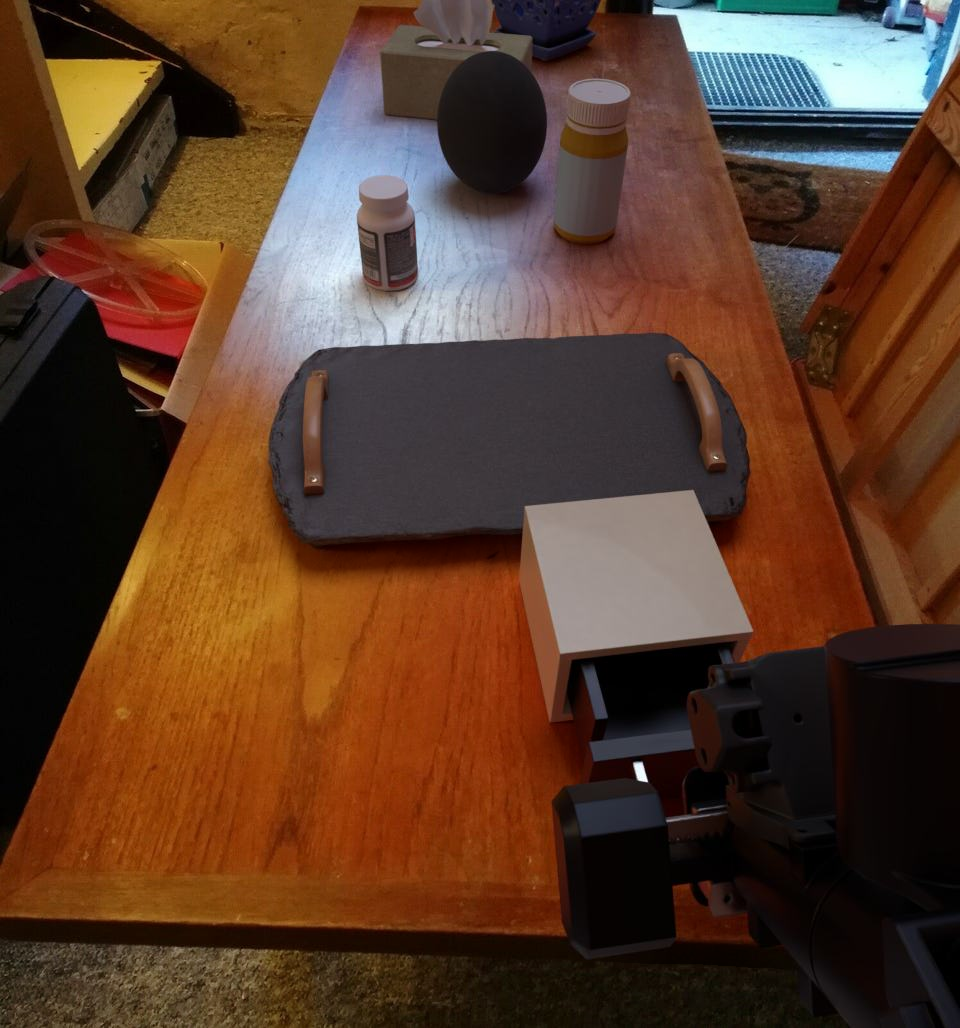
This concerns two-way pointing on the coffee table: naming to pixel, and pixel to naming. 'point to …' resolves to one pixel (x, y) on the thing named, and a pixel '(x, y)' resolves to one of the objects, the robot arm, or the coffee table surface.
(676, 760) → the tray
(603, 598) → the grey drawer unit
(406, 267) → the pill bottle
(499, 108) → the decorative egg
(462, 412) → the serving tray
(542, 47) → the flower pot
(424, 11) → the tissue box
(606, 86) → the bottle
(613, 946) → the robot arm
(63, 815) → the coffee table surface
